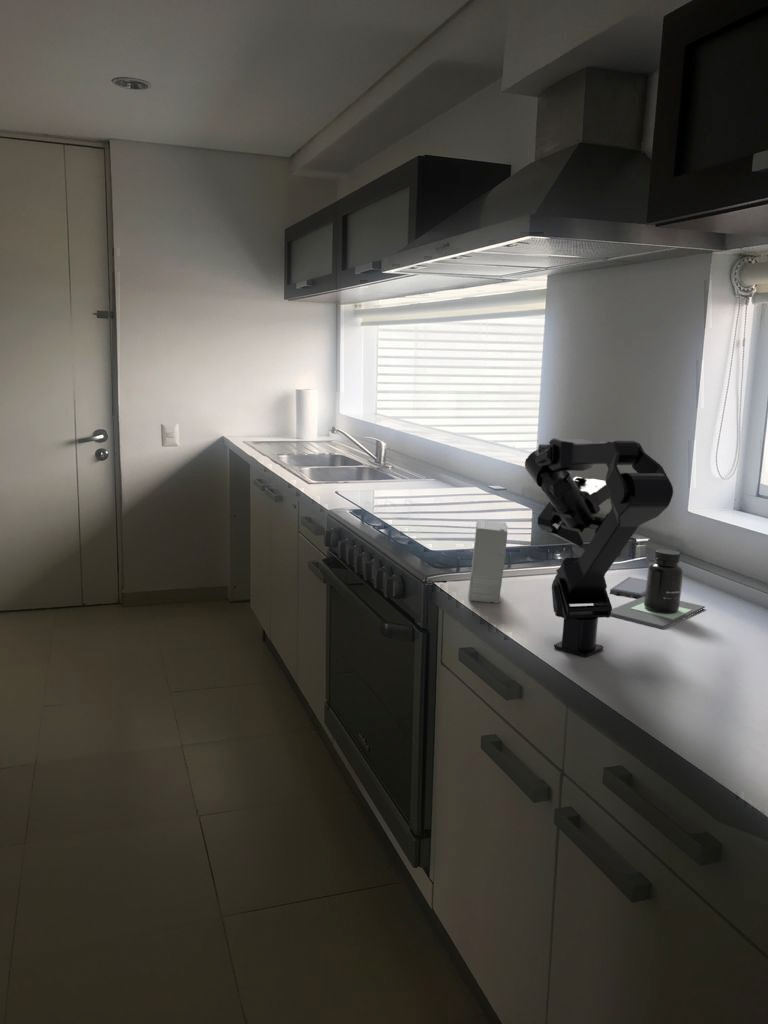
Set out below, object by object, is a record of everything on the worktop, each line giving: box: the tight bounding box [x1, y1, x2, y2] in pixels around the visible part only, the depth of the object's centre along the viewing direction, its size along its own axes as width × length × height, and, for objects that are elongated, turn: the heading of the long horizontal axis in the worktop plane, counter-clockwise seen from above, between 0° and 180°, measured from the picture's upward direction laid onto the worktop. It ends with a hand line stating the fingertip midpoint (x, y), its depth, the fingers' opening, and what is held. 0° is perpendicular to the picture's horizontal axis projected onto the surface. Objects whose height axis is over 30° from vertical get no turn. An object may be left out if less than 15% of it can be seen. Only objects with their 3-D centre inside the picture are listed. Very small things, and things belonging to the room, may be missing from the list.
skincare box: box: [468, 519, 508, 604], centre depth 179 cm, size 8×7×16 cm
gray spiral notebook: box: [610, 596, 706, 630], centre depth 175 cm, size 20×12×1 cm, turn 138°
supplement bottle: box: [644, 549, 684, 614], centre depth 173 cm, size 7×7×12 cm
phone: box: [609, 576, 647, 599], centre depth 192 cm, size 14×7×1 cm, turn 148°
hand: (599, 550), depth 167 cm, fingers open, 9 cm apart
